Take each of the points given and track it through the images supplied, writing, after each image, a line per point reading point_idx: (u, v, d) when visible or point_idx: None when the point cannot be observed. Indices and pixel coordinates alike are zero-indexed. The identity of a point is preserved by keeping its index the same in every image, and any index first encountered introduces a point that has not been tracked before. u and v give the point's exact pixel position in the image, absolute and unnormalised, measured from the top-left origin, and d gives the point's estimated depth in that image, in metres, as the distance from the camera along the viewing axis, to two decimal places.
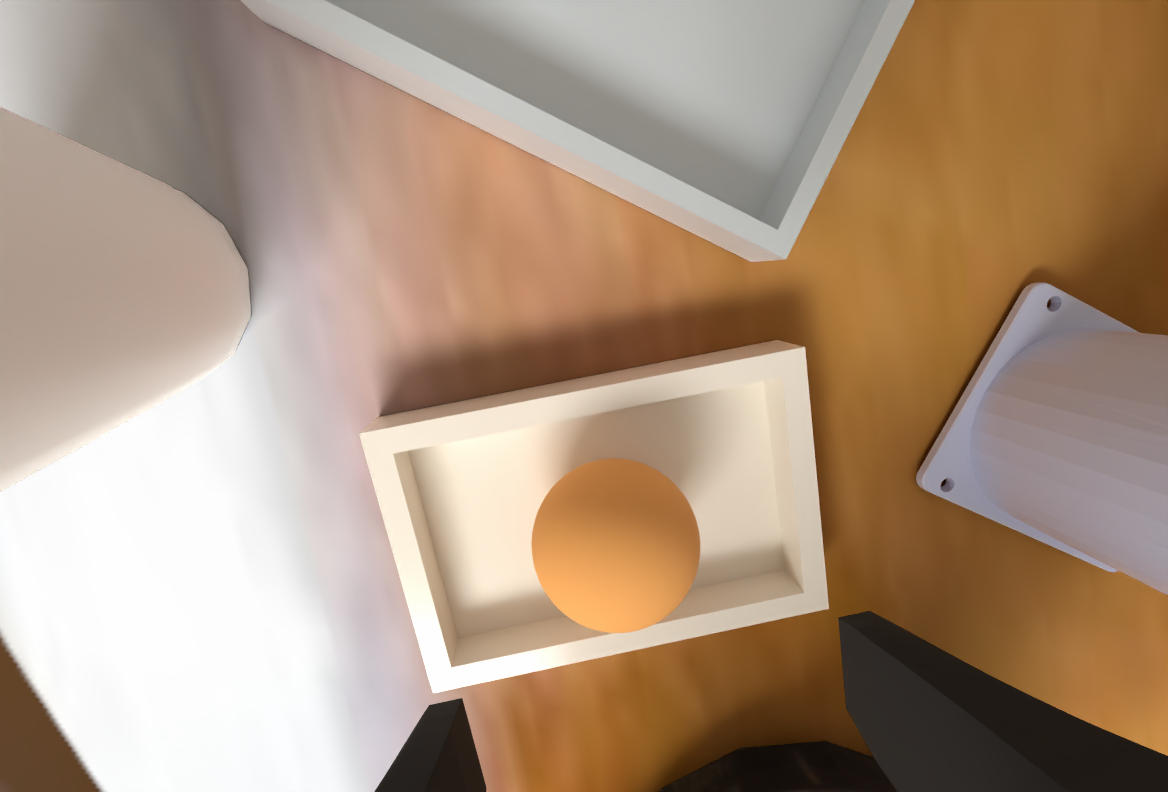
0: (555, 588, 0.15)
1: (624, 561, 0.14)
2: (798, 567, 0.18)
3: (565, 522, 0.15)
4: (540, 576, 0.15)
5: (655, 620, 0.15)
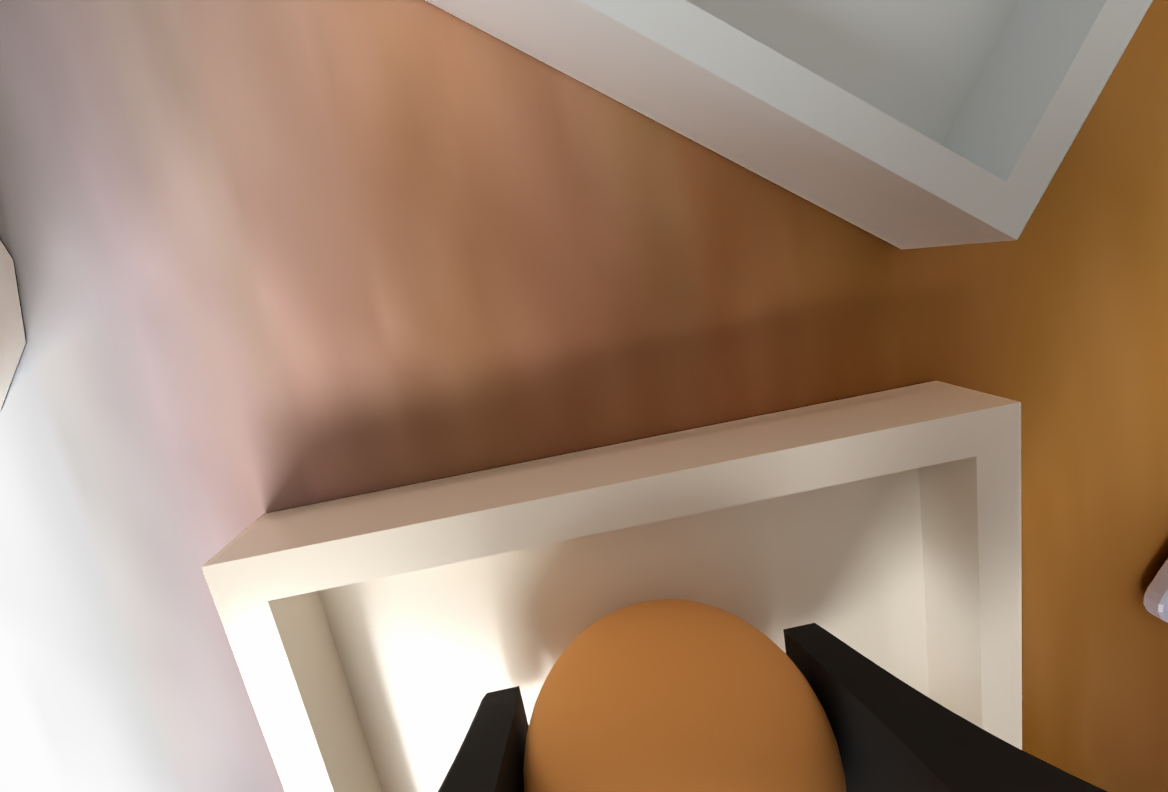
0: None
1: None
2: None
3: (591, 777, 0.07)
4: None
5: None
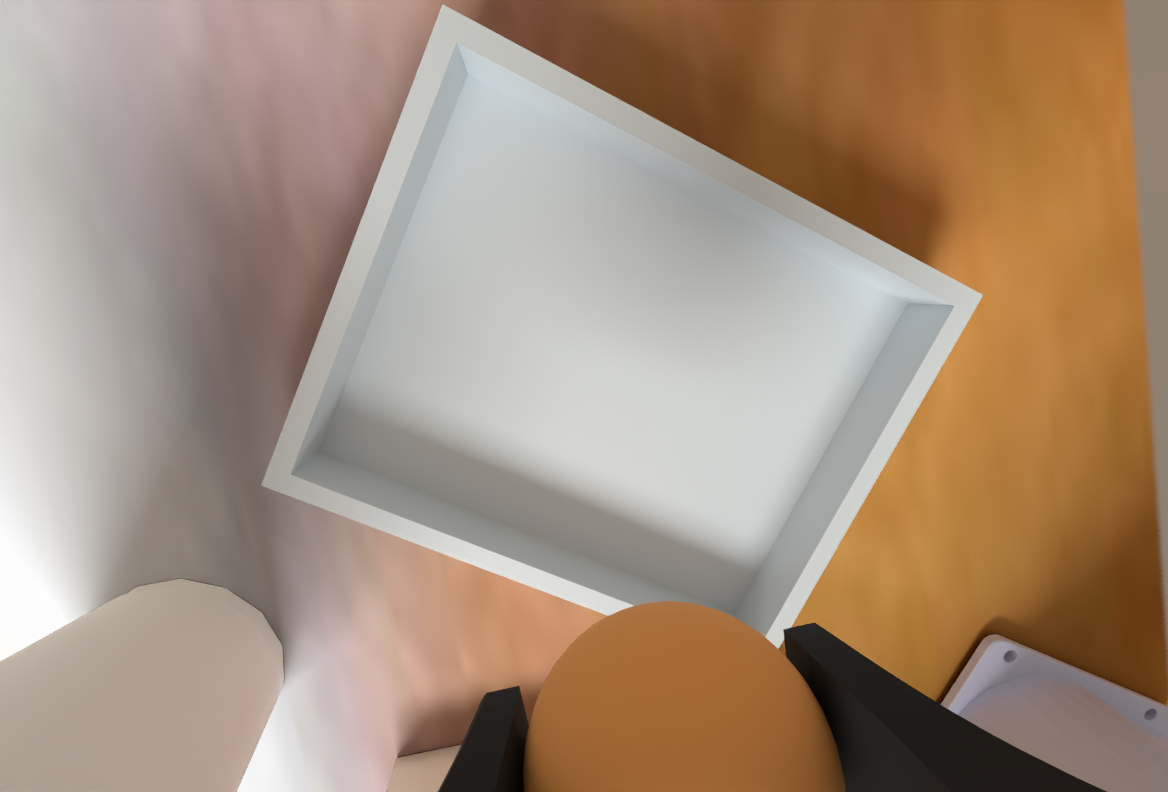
0: None
1: None
2: None
3: (591, 778, 0.07)
4: None
5: None
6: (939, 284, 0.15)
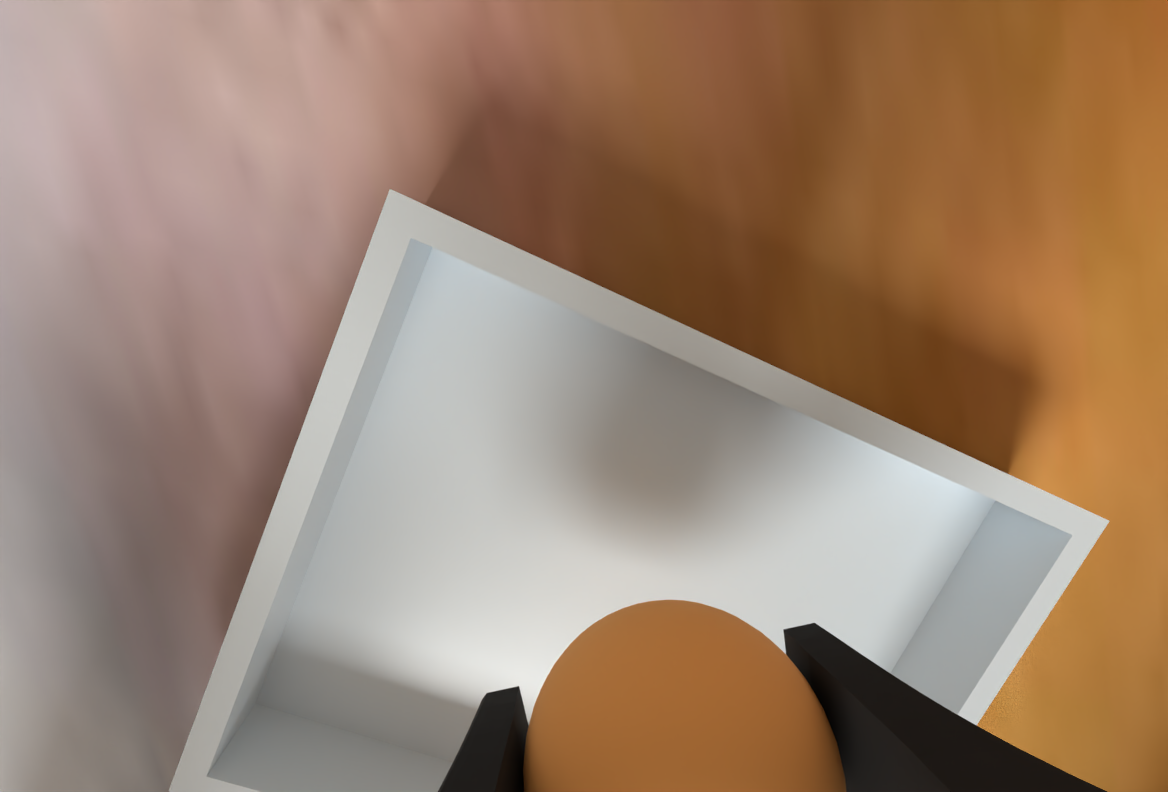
0: None
1: None
2: None
3: (591, 777, 0.07)
4: None
5: None
6: (1053, 511, 0.12)
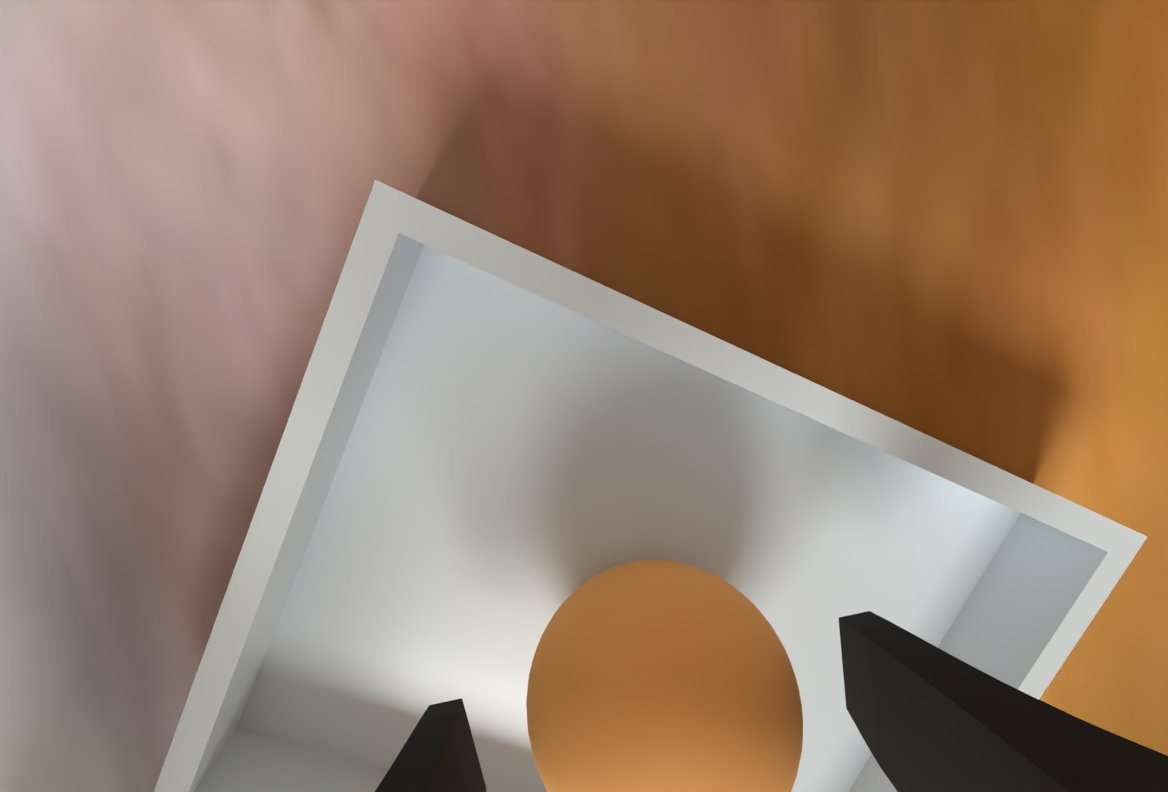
0: None
1: (692, 781, 0.08)
2: None
3: (584, 696, 0.08)
4: (541, 773, 0.09)
5: None
6: (1088, 526, 0.11)
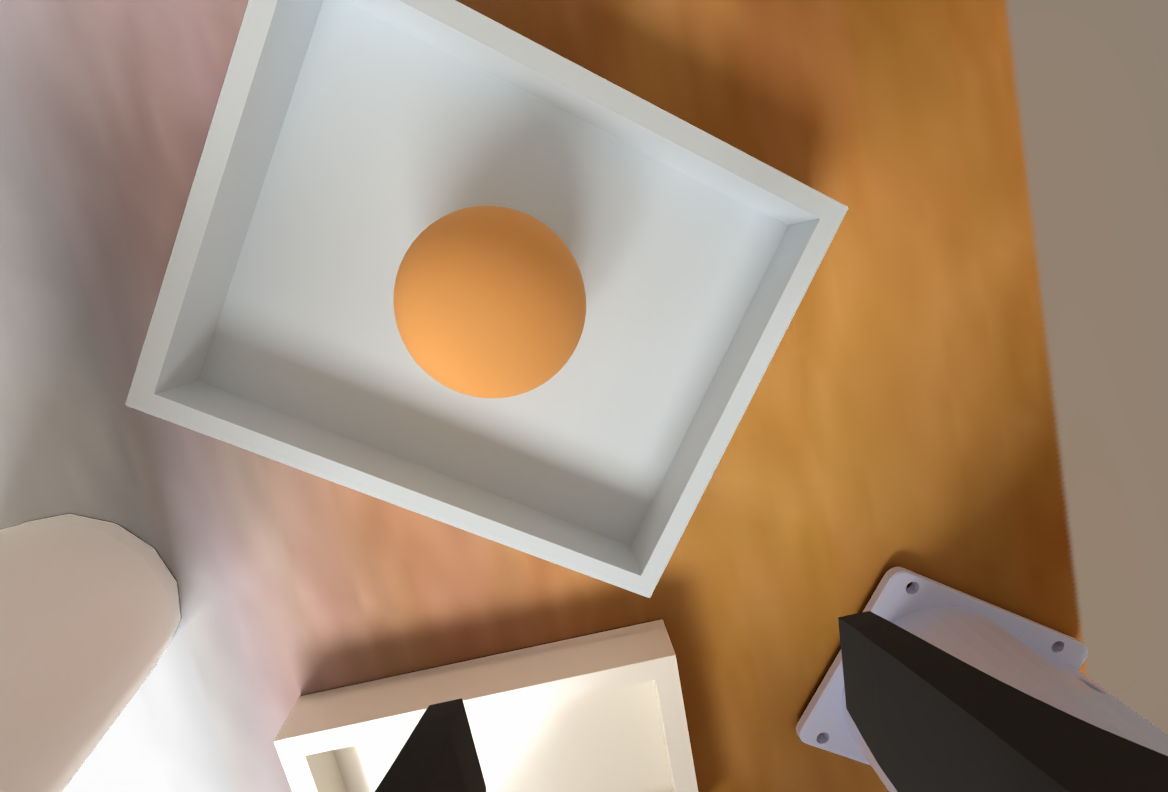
0: (410, 326, 0.13)
1: (480, 276, 0.12)
2: None
3: (420, 248, 0.13)
4: (398, 324, 0.13)
5: (526, 366, 0.13)
6: (803, 196, 0.15)
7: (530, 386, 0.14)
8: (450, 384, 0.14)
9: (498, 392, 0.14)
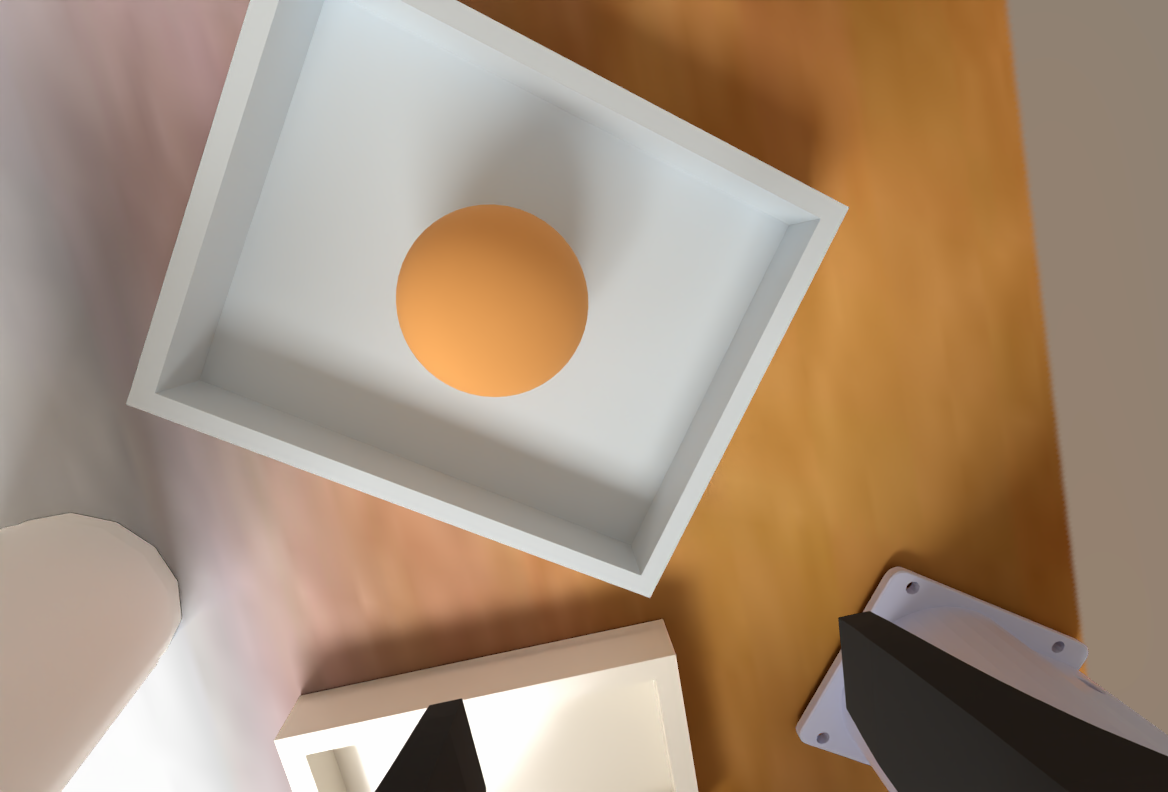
0: (413, 324, 0.13)
1: (485, 273, 0.12)
2: None
3: (423, 246, 0.13)
4: (401, 322, 0.13)
5: (529, 363, 0.13)
6: (803, 196, 0.15)
7: (533, 384, 0.14)
8: (453, 382, 0.14)
9: (501, 390, 0.14)
